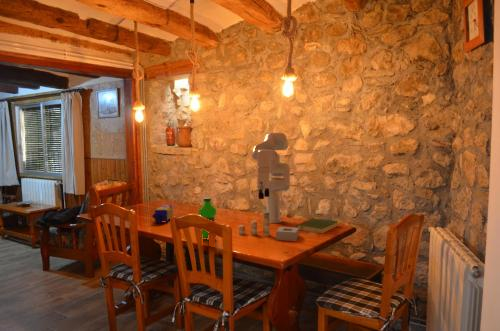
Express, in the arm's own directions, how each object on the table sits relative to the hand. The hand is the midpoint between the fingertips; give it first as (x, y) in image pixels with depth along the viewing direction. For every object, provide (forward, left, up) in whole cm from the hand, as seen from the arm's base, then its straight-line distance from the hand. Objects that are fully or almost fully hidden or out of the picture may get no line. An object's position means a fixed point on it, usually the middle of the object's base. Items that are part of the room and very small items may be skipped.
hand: (264, 197), depth 230 cm
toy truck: (-25, -84, -24) cm, 90 cm away
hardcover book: (-28, +30, -25) cm, 47 cm away
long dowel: (-2, +1, -24) cm, 24 cm away
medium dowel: (-2, -7, -24) cm, 25 cm away
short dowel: (-2, -15, -24) cm, 28 cm away
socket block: (+1, +15, -24) cm, 28 cm away
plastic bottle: (+15, -31, -24) cm, 42 cm away
